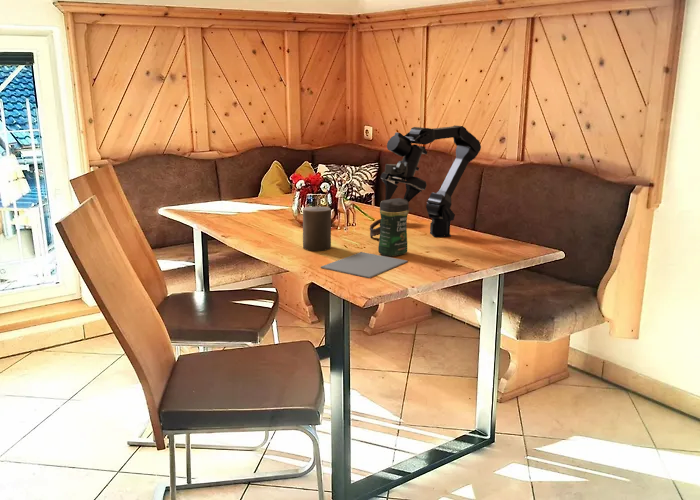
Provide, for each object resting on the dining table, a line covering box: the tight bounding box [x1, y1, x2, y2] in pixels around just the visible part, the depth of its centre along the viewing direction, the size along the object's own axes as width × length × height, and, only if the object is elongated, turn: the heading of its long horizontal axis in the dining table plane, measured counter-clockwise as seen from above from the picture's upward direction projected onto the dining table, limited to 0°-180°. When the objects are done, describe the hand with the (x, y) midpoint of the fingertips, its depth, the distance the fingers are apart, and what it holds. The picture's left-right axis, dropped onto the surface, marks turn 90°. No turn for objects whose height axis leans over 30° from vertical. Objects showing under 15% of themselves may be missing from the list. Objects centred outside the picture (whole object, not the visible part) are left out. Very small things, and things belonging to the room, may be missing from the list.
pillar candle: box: [302, 204, 332, 252], centre depth 221 cm, size 10×10×15 cm
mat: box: [320, 251, 409, 279], centre depth 203 cm, size 22×18×1 cm
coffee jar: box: [377, 197, 410, 257], centre depth 214 cm, size 10×8×19 cm
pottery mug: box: [369, 218, 381, 239], centre depth 238 cm, size 12×10×8 cm
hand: (394, 203), depth 225 cm, fingers open, 9 cm apart
